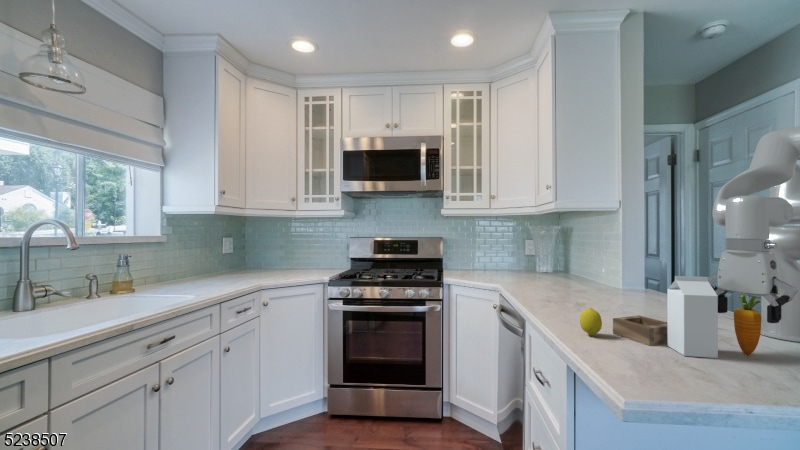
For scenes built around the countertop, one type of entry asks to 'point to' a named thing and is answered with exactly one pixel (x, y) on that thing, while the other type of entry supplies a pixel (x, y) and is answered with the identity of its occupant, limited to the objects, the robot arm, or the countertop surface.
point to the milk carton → (692, 317)
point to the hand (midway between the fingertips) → (746, 317)
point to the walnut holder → (641, 329)
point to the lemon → (590, 321)
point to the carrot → (747, 325)
